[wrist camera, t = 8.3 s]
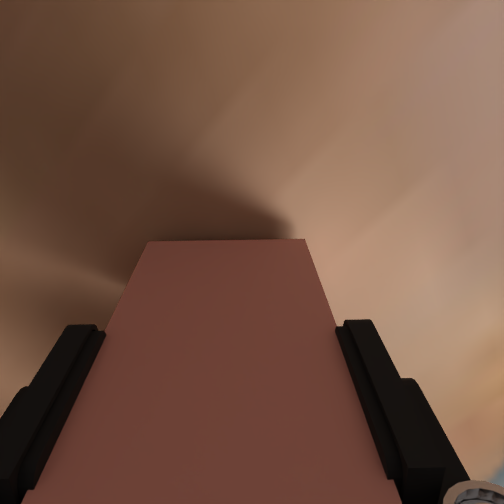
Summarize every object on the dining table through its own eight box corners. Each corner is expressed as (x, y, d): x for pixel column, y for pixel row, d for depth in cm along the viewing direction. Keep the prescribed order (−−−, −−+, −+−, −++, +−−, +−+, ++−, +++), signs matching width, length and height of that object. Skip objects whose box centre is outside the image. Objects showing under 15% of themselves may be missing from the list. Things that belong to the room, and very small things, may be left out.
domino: (301, 304, 16) (393, 657, 6) (154, 307, 16) (34, 671, 6) (304, 238, 15) (416, 543, 6) (147, 241, 15) (-5, 557, 5)
